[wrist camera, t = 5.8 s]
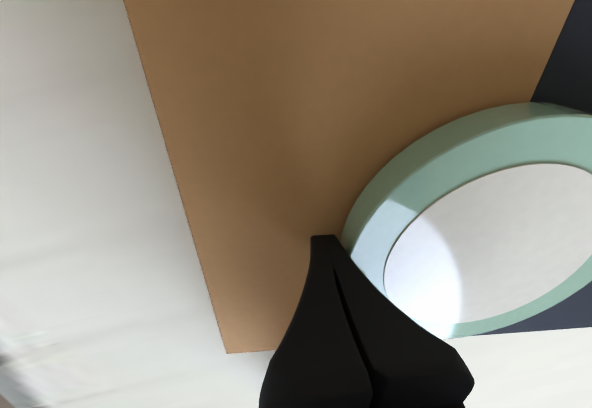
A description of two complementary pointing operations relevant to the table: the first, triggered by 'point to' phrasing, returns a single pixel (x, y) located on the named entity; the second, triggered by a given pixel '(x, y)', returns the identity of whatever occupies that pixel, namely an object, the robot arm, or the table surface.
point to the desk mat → (331, 120)
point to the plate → (481, 219)
